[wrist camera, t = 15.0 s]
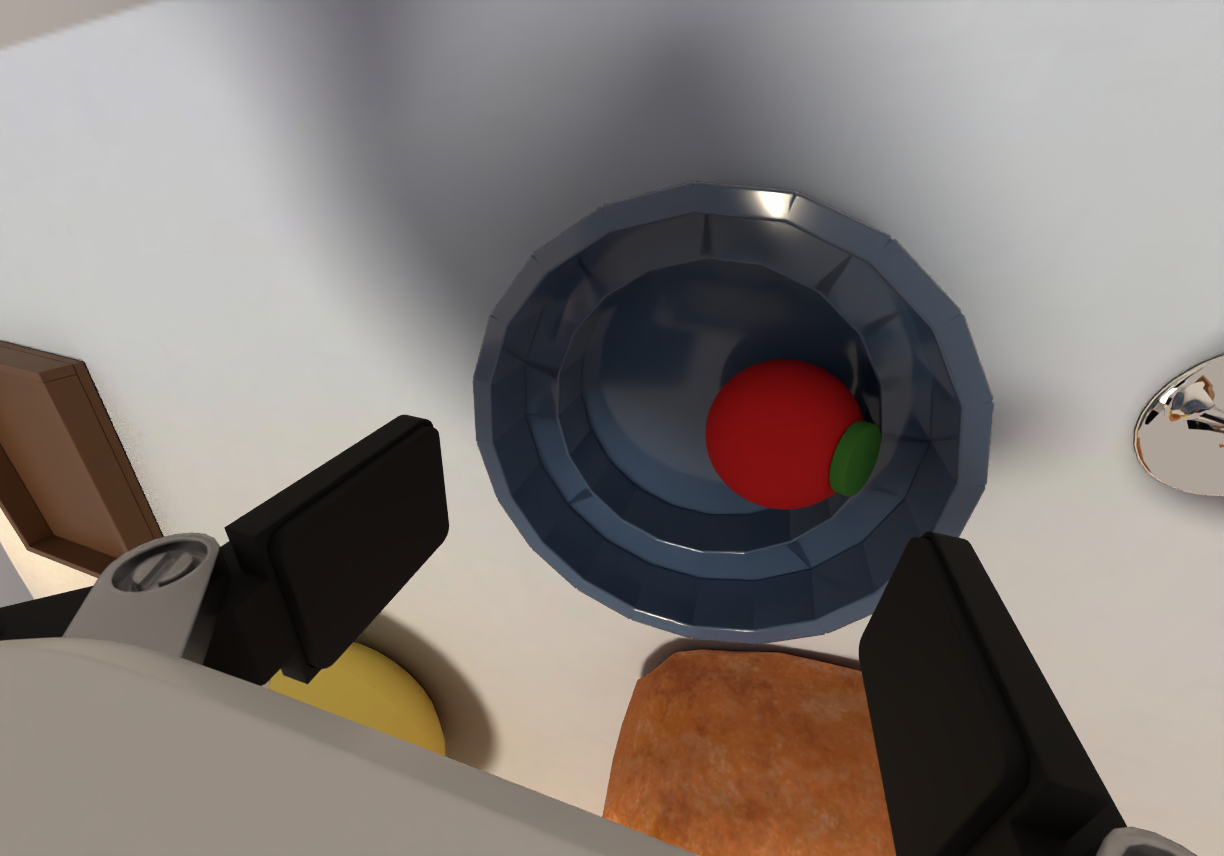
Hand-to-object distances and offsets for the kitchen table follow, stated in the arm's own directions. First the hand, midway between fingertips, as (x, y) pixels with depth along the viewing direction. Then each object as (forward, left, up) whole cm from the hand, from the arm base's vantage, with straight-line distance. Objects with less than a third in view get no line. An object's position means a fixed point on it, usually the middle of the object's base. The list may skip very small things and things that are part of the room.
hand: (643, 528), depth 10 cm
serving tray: (+14, -42, -9) cm, 45 cm away
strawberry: (0, +1, -7) cm, 7 cm away
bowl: (0, 0, -9) cm, 9 cm away
